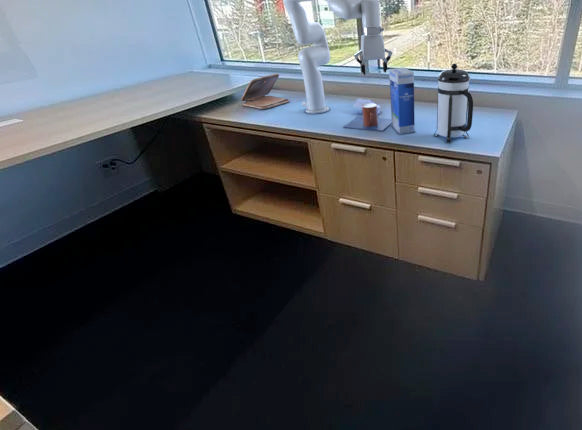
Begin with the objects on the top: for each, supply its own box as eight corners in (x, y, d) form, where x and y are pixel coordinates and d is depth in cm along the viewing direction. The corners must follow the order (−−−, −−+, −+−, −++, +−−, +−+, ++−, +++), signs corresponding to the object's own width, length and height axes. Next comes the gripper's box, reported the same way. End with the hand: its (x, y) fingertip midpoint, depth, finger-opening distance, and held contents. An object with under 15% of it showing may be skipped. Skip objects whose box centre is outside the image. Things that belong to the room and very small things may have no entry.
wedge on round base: (353, 113, 199) (373, 116, 193) (352, 100, 195) (372, 103, 189) (363, 108, 205) (383, 111, 199) (362, 96, 202) (382, 98, 196)
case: (269, 97, 233) (263, 70, 225) (291, 101, 223) (286, 73, 214) (240, 105, 220) (233, 77, 211) (263, 110, 209) (256, 80, 200)
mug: (362, 122, 184) (361, 103, 180) (376, 121, 185) (375, 102, 180) (364, 129, 176) (363, 109, 171) (379, 127, 177) (378, 108, 172)
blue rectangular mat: (343, 127, 180) (343, 127, 180) (357, 117, 193) (357, 116, 192) (382, 131, 174) (382, 130, 174) (394, 120, 186) (394, 119, 186)
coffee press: (429, 141, 160) (430, 67, 144) (438, 129, 172) (440, 59, 157) (469, 146, 154) (475, 68, 138) (477, 133, 167) (483, 60, 151)
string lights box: (415, 132, 171) (414, 72, 157) (399, 134, 169) (397, 74, 155) (406, 123, 181) (404, 66, 168) (390, 125, 180) (388, 68, 166)
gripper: (389, 29, 168) (391, 69, 177) (350, 32, 165) (354, 73, 174) (393, 30, 162) (394, 72, 171) (353, 33, 159) (357, 76, 168)
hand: (374, 73), depth 172 cm, fingers open, 9 cm apart
